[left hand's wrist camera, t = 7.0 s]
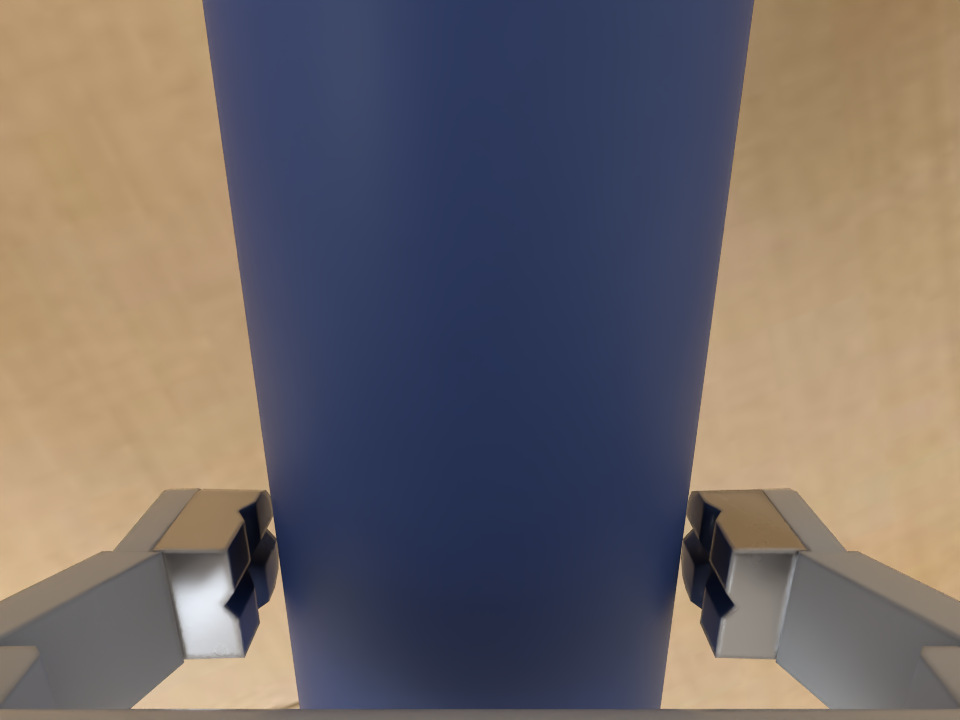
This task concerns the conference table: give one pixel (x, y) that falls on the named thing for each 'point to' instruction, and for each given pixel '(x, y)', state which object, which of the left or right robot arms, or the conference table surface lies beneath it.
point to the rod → (479, 329)
